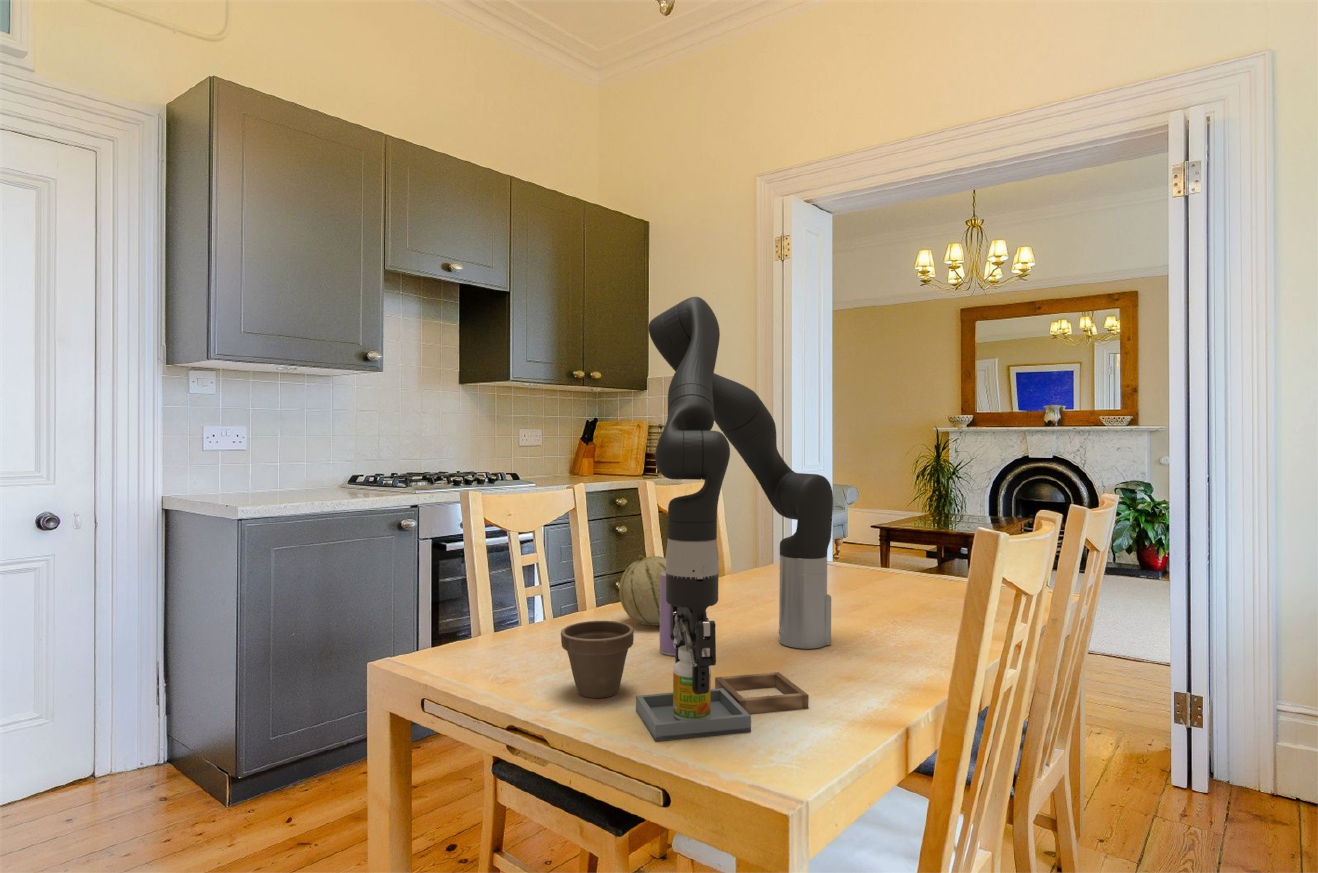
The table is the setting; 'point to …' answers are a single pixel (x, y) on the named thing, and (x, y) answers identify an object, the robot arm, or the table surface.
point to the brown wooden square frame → (788, 701)
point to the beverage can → (665, 620)
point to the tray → (667, 727)
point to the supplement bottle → (688, 690)
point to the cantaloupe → (642, 589)
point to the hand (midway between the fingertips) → (691, 683)
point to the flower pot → (597, 655)
